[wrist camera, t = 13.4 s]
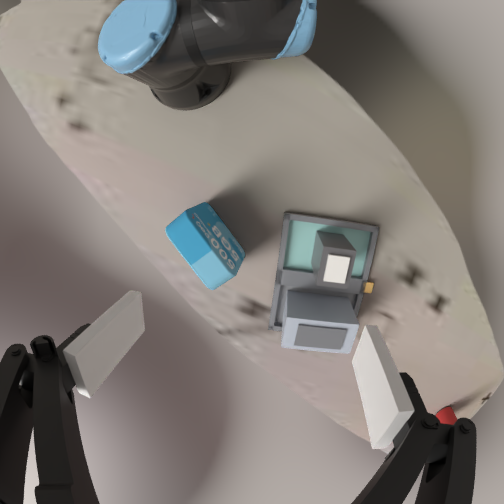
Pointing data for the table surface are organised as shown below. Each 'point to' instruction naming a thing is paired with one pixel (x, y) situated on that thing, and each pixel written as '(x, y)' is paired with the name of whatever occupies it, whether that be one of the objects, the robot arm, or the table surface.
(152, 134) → the table surface
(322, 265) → the plug
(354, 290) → the grey flat panel
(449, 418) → the beer can
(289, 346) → the block
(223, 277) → the data package
